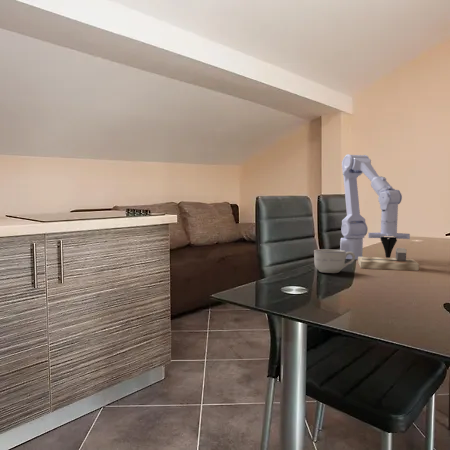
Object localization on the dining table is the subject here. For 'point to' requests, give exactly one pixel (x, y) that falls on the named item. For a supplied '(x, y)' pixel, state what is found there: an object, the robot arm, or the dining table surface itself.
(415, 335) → the dining table surface
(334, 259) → the teacup
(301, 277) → the dining table surface
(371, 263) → the console
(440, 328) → the dining table surface
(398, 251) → the fader
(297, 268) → the dining table surface
